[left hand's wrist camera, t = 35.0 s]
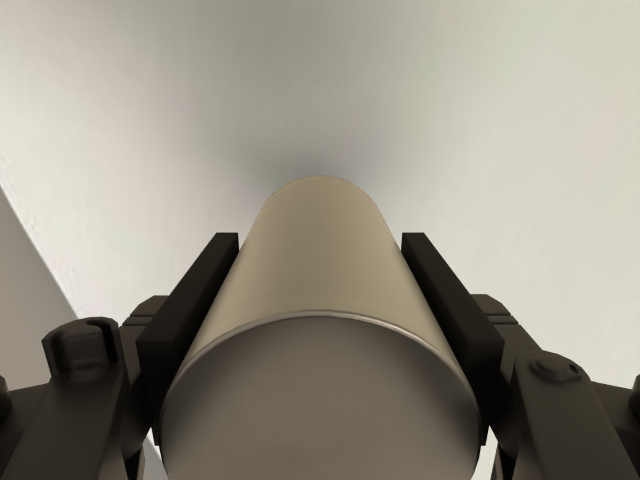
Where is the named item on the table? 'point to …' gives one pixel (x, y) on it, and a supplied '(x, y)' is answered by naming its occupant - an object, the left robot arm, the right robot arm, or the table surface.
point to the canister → (320, 358)
